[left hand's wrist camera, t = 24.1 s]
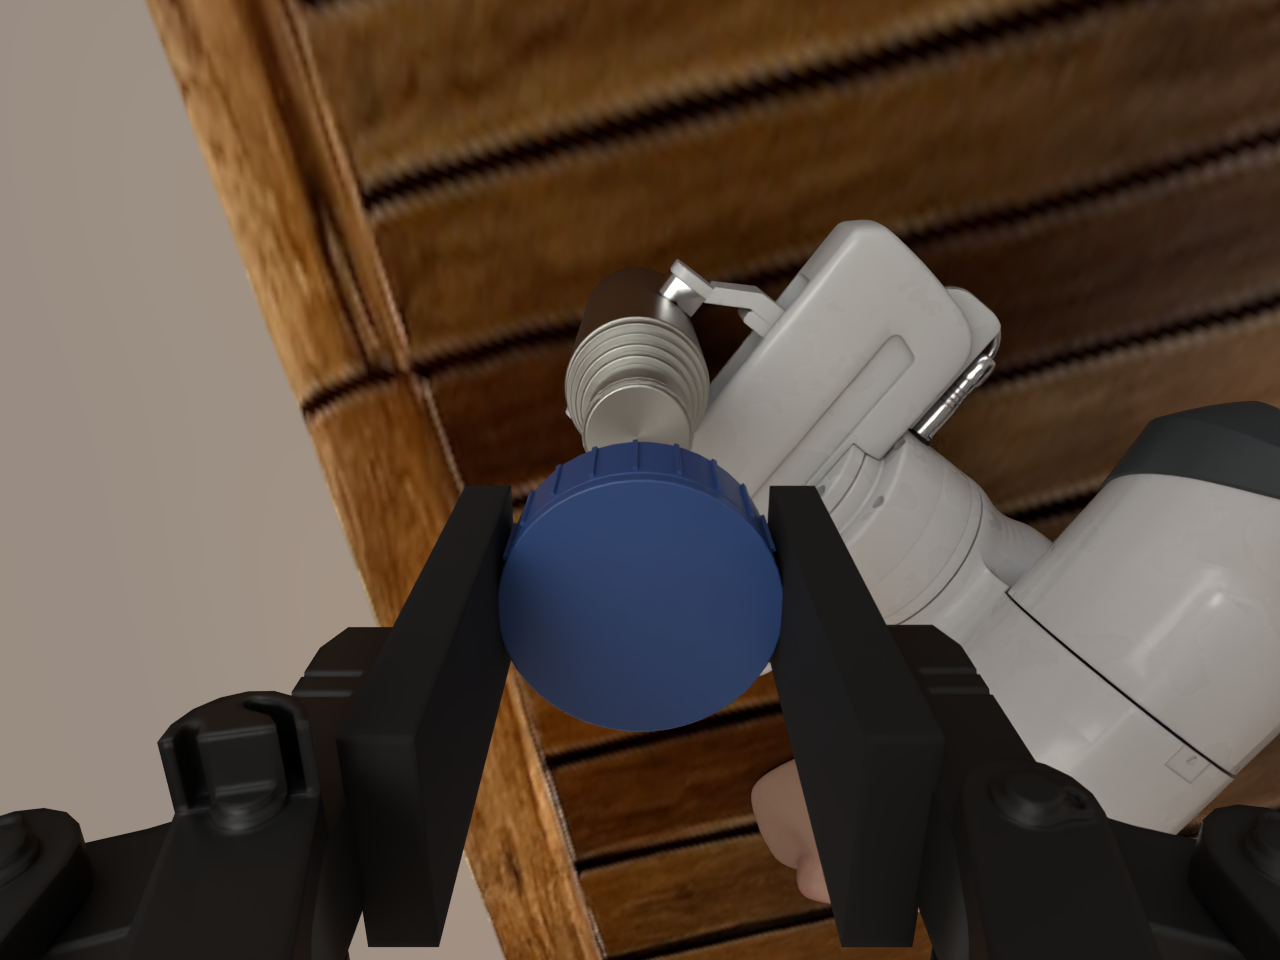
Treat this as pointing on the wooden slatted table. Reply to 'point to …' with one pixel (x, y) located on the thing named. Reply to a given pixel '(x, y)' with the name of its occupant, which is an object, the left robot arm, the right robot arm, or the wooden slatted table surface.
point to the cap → (640, 588)
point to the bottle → (636, 366)
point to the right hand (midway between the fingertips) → (619, 337)
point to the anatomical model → (789, 828)
